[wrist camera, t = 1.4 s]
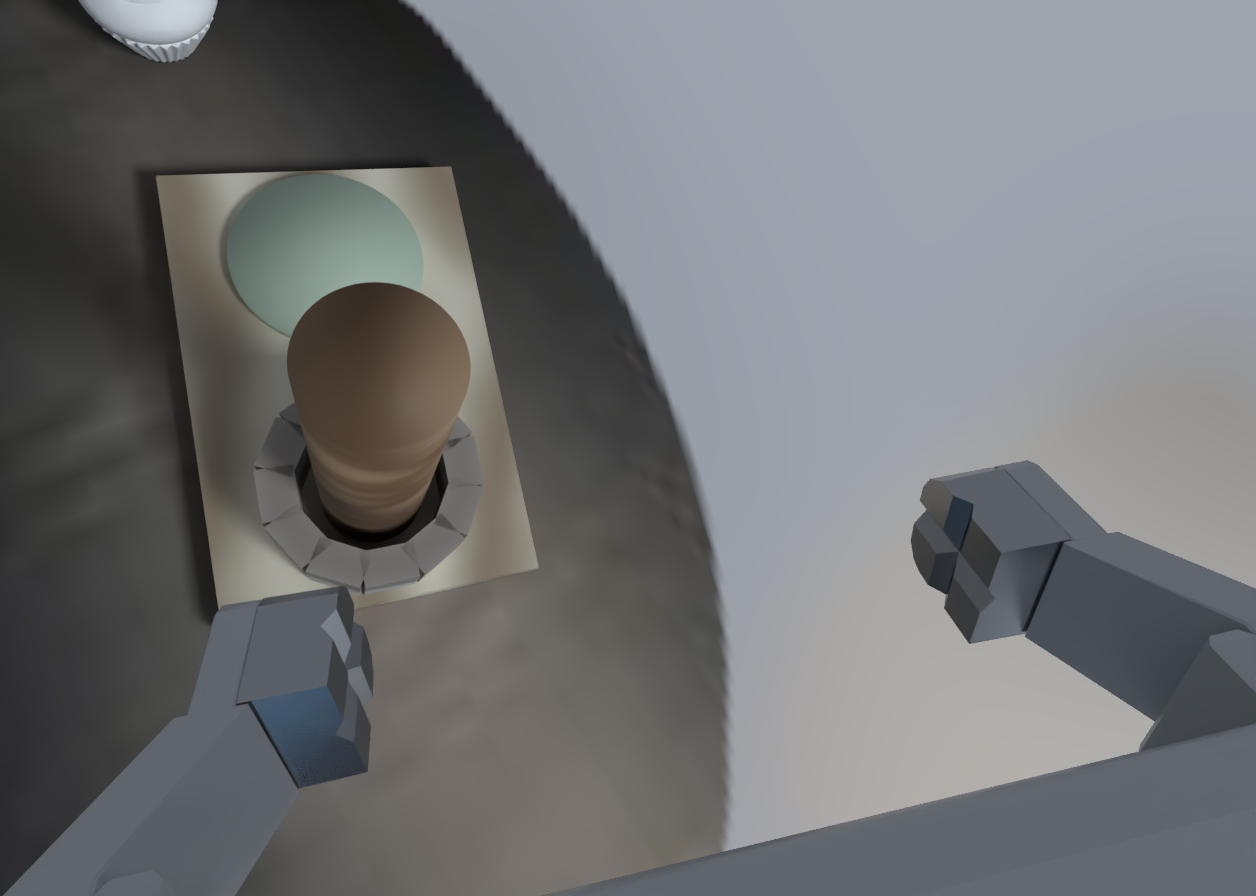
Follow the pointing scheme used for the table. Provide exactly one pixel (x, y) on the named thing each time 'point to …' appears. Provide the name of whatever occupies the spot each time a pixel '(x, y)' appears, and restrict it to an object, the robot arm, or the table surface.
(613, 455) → the table surface
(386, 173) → the birch board
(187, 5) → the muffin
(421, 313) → the walnut peg
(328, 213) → the sage pad
